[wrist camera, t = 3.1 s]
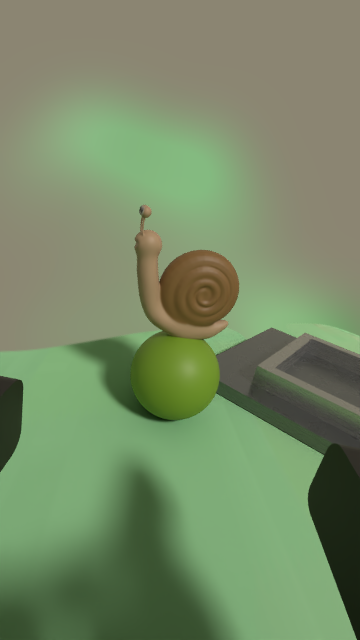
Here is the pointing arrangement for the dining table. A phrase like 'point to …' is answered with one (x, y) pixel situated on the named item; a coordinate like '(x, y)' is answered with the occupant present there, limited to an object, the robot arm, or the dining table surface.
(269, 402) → the tray
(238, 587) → the dining table surface
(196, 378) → the snail figurine
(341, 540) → the robot arm
